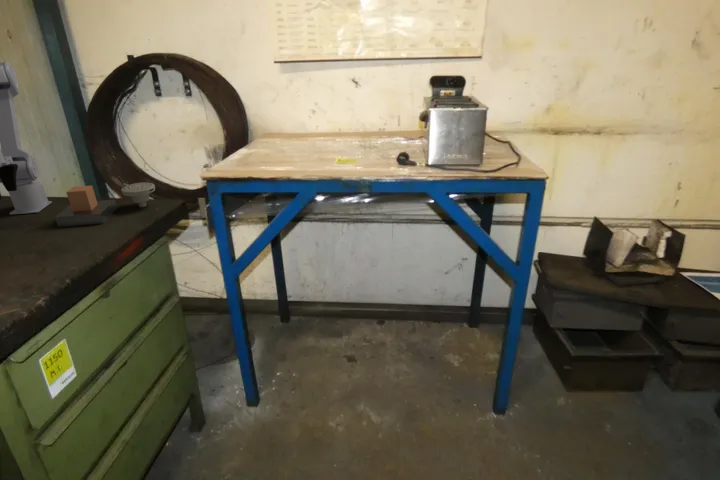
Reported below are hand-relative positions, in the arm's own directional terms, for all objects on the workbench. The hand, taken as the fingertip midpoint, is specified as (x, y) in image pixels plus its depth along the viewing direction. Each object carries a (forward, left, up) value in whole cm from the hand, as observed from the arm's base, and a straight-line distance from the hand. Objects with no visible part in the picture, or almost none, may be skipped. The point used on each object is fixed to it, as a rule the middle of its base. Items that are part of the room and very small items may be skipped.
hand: (4, 195), depth 116 cm
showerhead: (-10, +31, -10) cm, 34 cm away
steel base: (-3, +18, -9) cm, 21 cm away
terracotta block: (-3, +18, -6) cm, 19 cm away
